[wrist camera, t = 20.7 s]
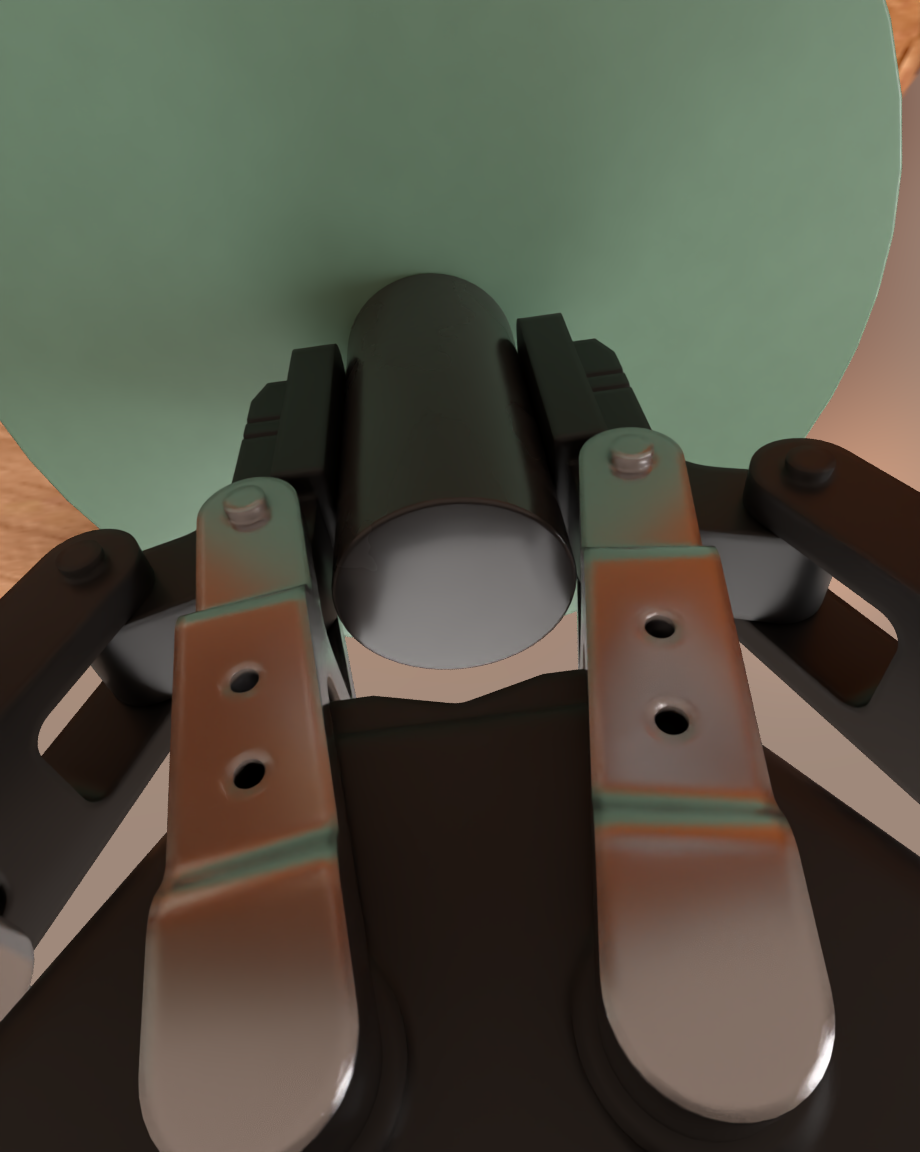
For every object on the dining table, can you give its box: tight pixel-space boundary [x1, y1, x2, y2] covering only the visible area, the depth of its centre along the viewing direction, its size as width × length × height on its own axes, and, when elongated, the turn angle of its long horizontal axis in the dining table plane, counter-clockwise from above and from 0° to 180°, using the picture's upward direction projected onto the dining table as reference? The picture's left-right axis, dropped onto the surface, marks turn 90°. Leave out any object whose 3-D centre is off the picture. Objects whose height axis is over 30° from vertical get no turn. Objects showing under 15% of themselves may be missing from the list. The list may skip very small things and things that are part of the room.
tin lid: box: [0, 0, 902, 669], centre depth 11 cm, size 16×16×7 cm
